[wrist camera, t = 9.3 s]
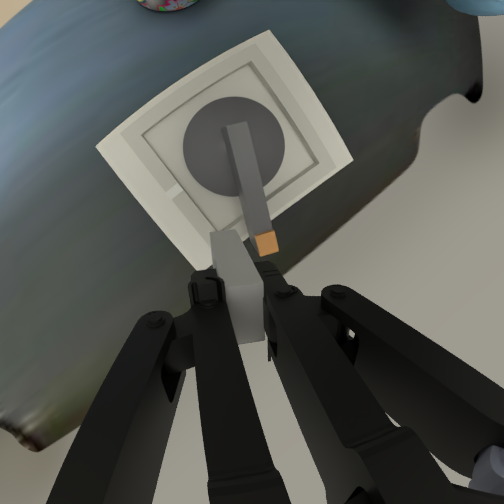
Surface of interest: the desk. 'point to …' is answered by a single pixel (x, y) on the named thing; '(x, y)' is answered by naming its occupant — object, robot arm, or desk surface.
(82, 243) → the desk surface
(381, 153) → the desk surface
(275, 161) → the dial
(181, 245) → the panel
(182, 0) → the mug
